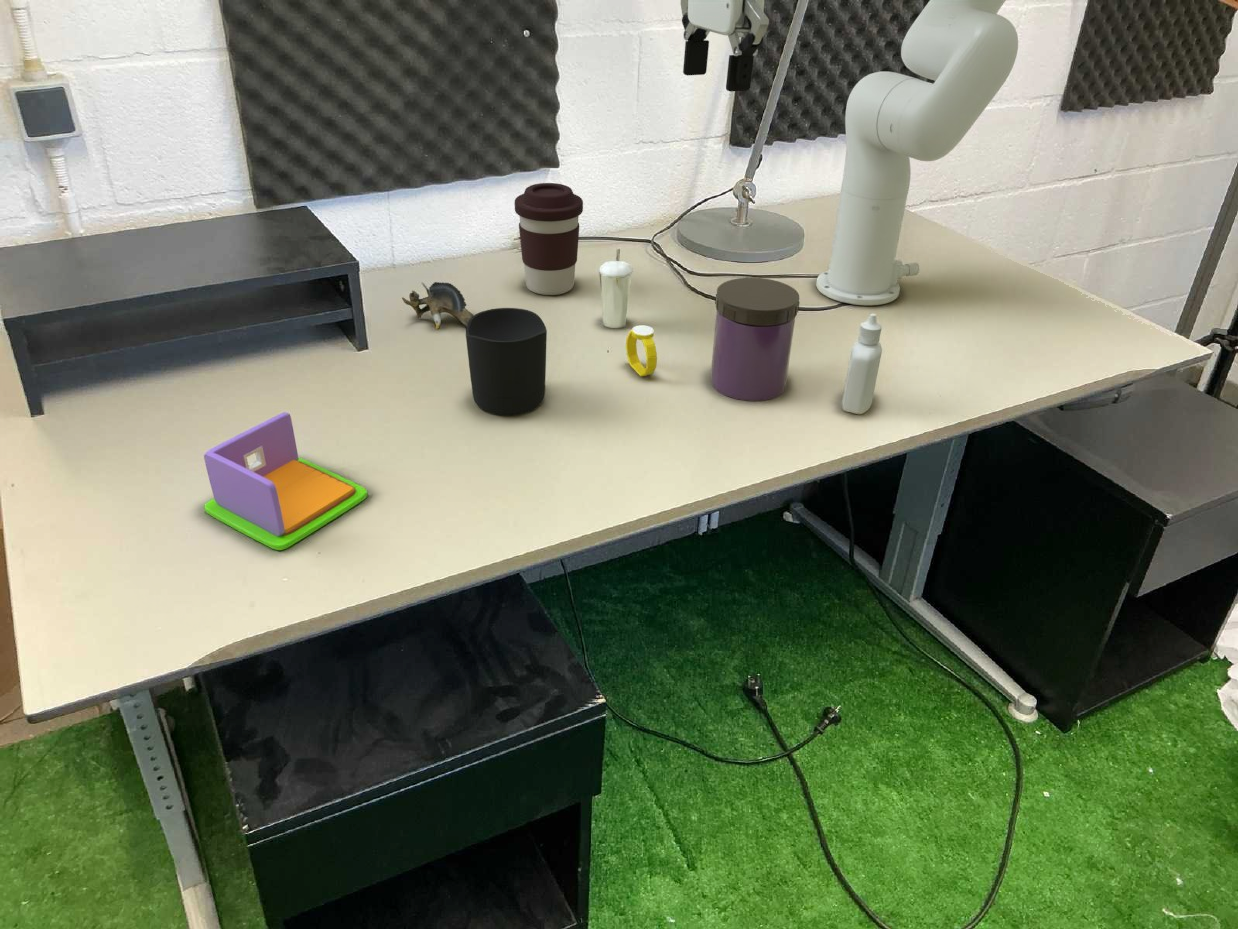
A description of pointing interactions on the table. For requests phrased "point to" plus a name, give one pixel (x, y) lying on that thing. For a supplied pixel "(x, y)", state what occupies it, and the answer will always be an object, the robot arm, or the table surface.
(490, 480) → the table surface
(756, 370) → the jar
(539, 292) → the coffee cup
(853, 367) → the eye dropper bottle
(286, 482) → the dollhouse room
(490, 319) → the pen holder
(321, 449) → the table surface
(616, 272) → the milkshake
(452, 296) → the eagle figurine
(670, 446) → the table surface
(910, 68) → the robot arm
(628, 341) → the watch
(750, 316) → the jar lid
